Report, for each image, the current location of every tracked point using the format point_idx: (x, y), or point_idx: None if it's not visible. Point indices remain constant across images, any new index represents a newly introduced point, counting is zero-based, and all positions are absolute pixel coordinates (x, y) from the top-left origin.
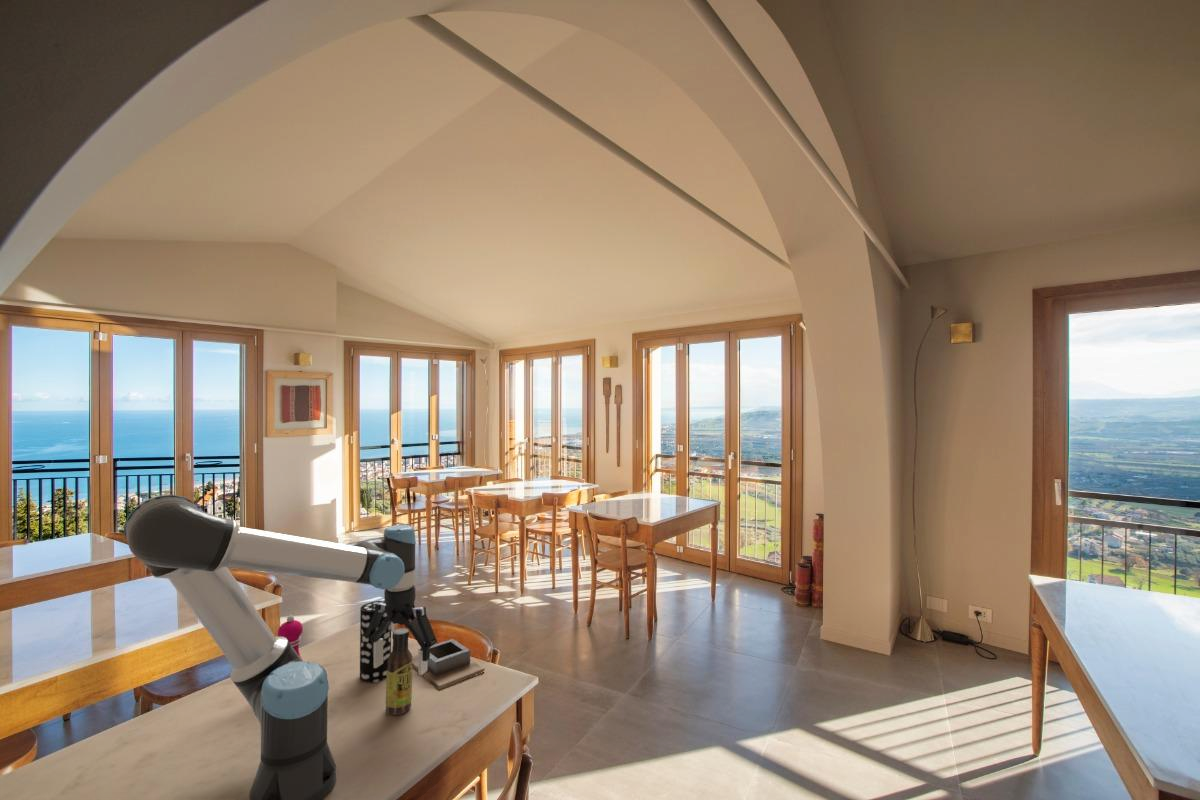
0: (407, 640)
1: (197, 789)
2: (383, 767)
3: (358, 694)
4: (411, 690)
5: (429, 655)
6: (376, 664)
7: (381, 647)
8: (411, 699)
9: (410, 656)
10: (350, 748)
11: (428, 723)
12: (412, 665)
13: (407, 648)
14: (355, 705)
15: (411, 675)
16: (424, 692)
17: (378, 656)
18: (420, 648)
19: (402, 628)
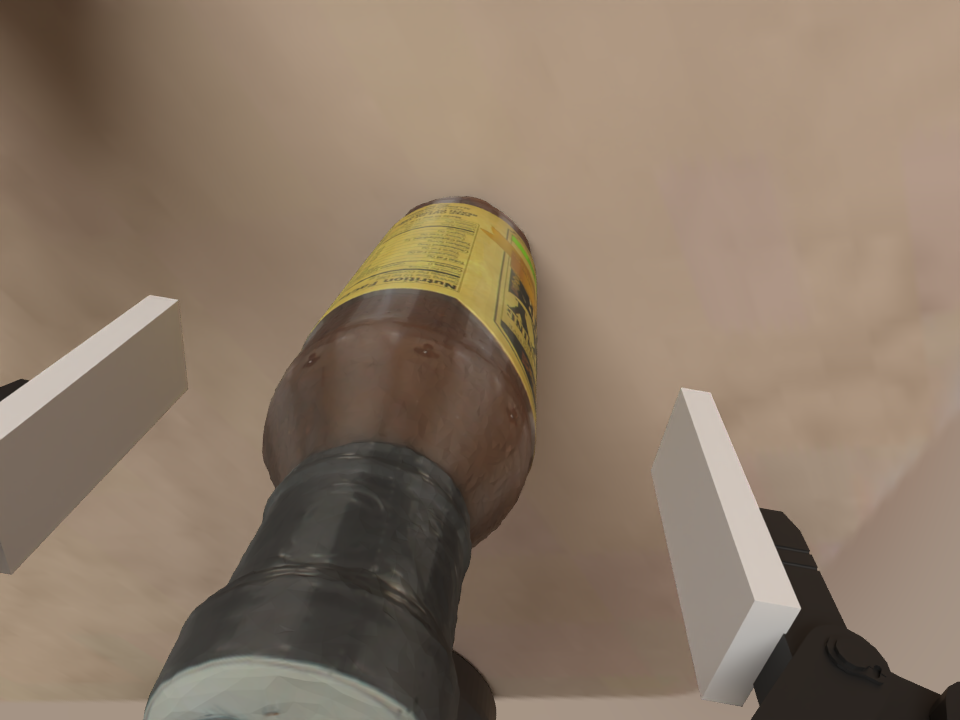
0: (453, 619)
1: (100, 698)
2: (613, 621)
3: (81, 124)
4: (534, 291)
5: (804, 551)
6: (169, 399)
7: (66, 421)
8: (532, 260)
9: (519, 466)
10: None
11: (701, 367)
12: (528, 367)
13: (469, 529)
14: (172, 250)
15: (536, 356)
16: (531, 18)
17: (128, 414)
18: (726, 687)
19: (230, 684)
